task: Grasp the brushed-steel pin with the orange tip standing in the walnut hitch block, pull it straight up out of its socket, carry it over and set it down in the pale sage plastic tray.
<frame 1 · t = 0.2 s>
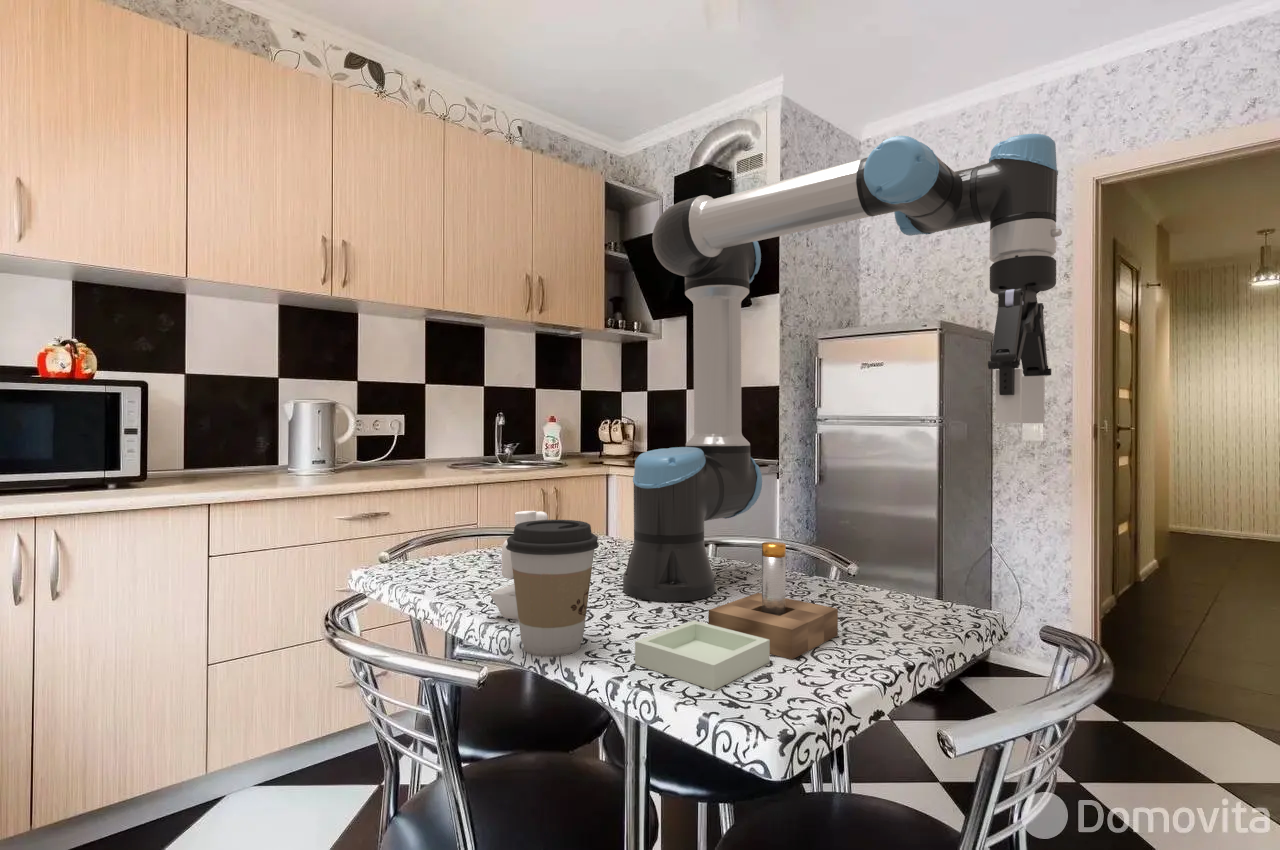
hand: (1021, 423, 86), 28 cm above the table, fingers open, 13 cm apart
tray: (702, 663, 75), on the table
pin: (773, 590, 85), in the hitch block
hitch block: (773, 636, 85), on the table
coffee cup: (552, 648, 81), on the table
figurine: (525, 616, 94), on the table
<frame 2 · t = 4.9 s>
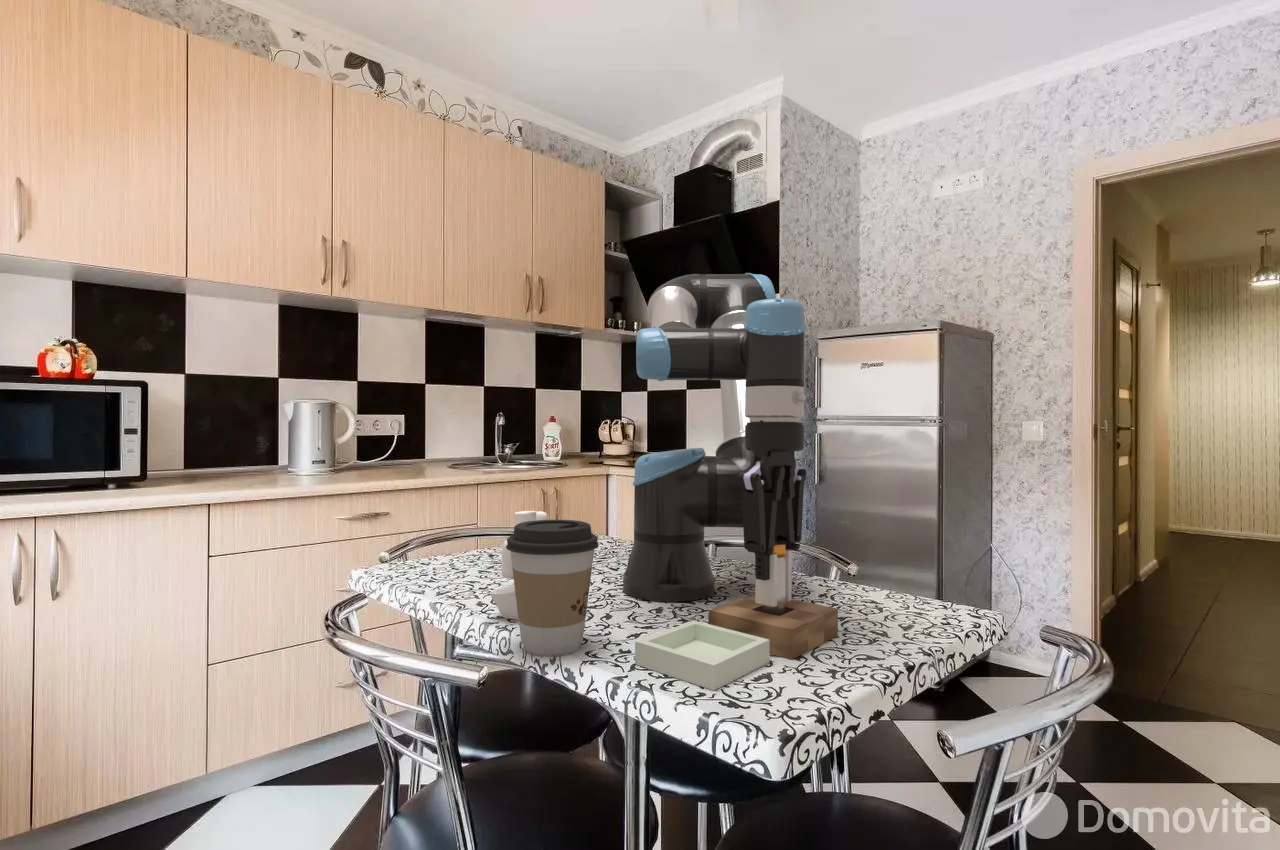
hand: (773, 601, 85), 5 cm above the table, fingers closed on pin, 3 cm apart
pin: (773, 590, 85), in the hitch block, touching gripper
everything else where it was.
when the fingers open (6 cm above the table, at t = 11.8 s): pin stays where it is, resting on tray.
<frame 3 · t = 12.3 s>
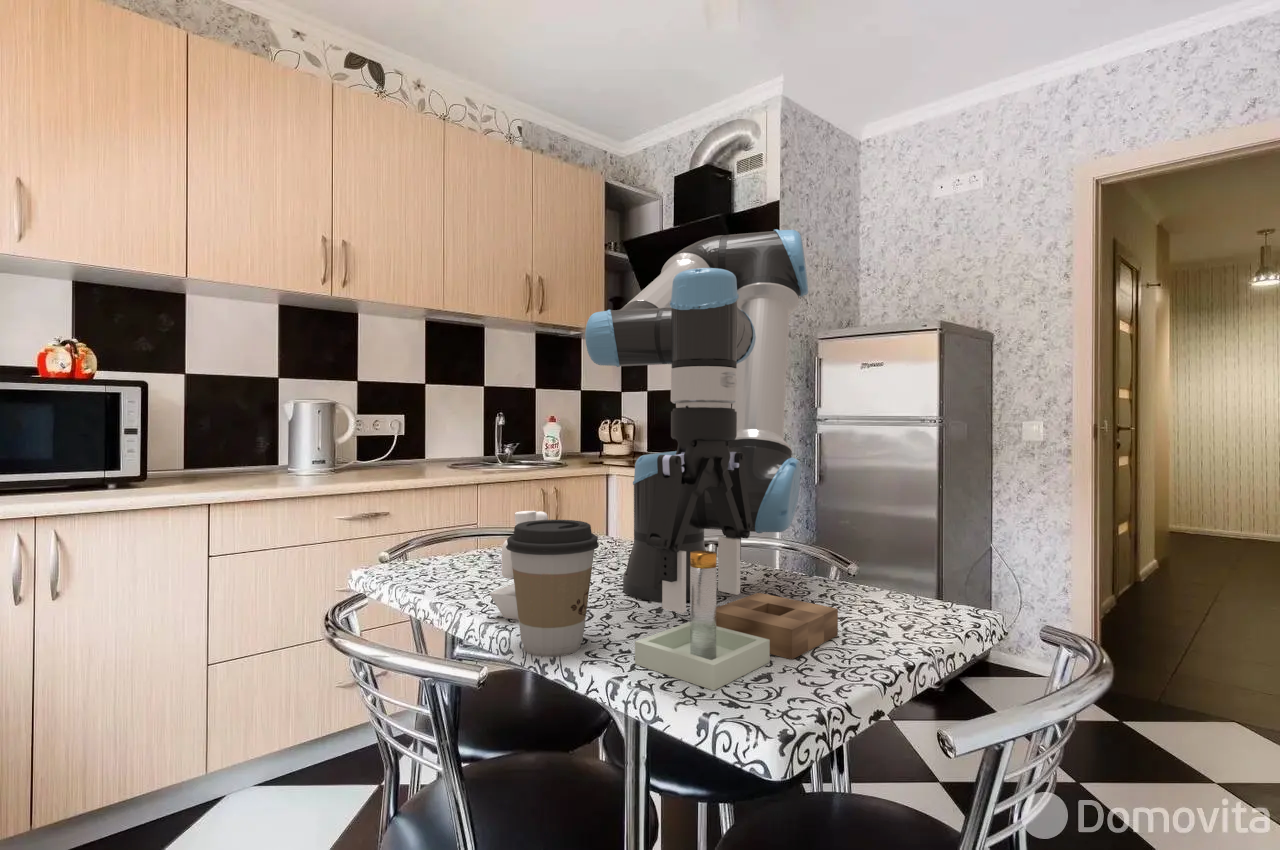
hand: (702, 600, 75), 7 cm above the table, fingers open, 10 cm apart
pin: (703, 605, 75), in the tray, point 7 cm above the table
everything else where it was.
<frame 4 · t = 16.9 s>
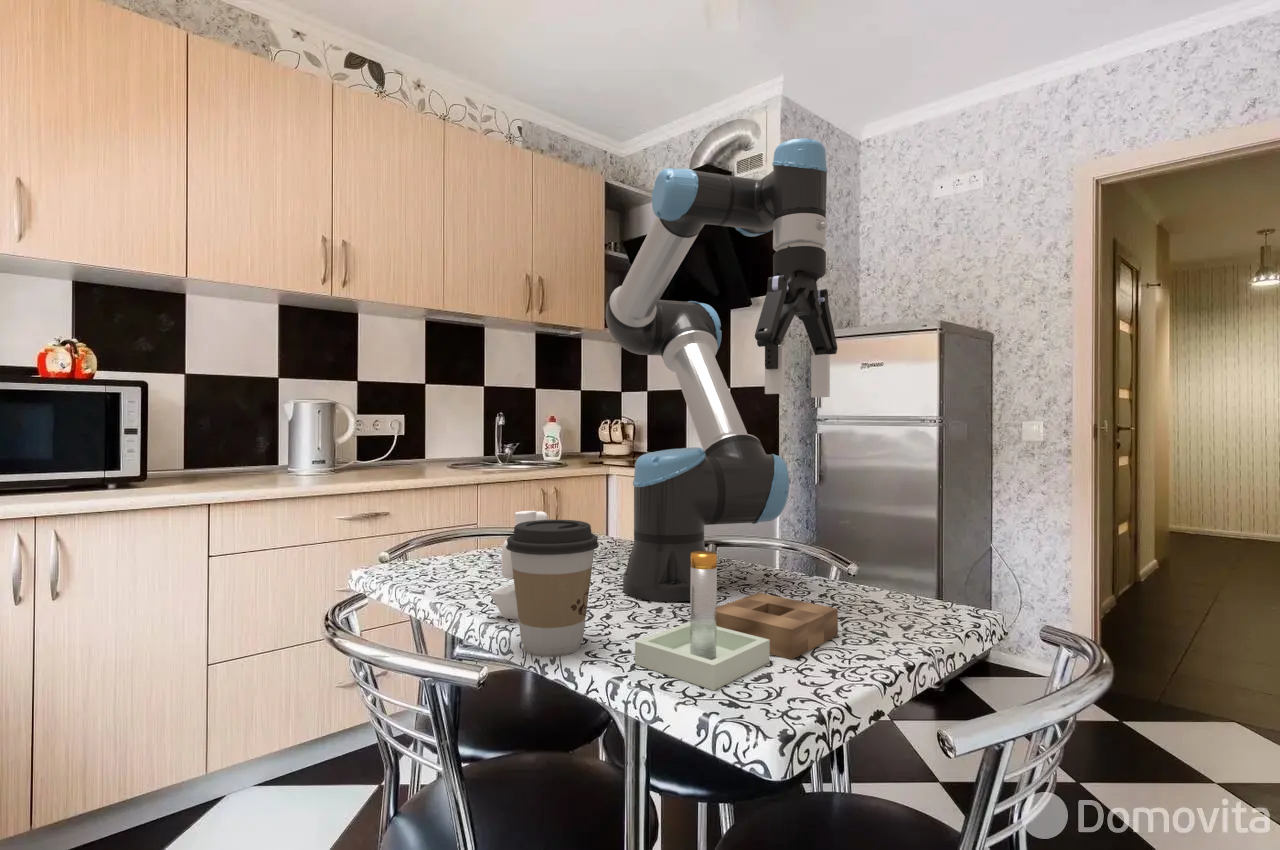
hand: (798, 395, 96), 32 cm above the table, fingers open, 13 cm apart
nothing on the table moved.
at the end: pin inside the target area on the tray (0.1 cm from its centre), point 6.6 cm above the tray's base; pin touching tray; the gripper is holding nothing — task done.
